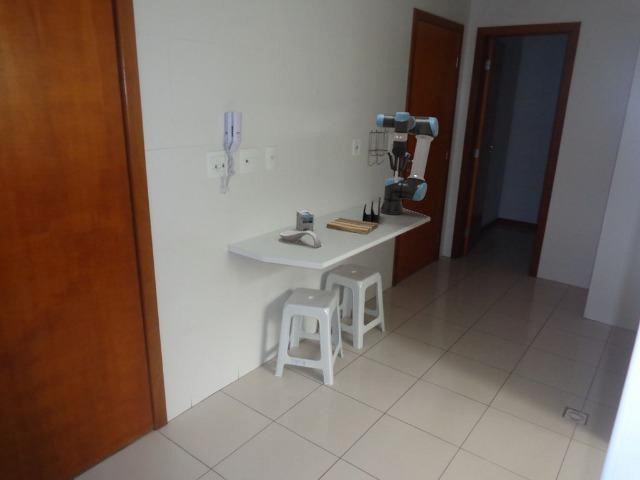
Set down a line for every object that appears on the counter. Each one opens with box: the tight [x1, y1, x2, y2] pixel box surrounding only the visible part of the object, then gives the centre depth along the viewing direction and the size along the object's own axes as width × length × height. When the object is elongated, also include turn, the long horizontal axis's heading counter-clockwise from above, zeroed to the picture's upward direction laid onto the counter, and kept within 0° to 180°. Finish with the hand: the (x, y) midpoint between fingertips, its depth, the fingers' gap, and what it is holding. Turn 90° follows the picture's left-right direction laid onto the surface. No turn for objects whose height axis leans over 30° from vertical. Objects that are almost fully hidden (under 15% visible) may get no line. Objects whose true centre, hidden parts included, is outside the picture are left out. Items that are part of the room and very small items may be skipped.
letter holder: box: [361, 196, 381, 225], centre depth 289 cm, size 10×20×14 cm, turn 171°
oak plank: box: [326, 220, 373, 235], centre depth 266 cm, size 10×24×2 cm, turn 64°
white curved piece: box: [279, 230, 322, 249], centre depth 236 cm, size 24×12×7 cm, turn 53°
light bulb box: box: [295, 209, 315, 232], centre depth 257 cm, size 11×7×11 cm, turn 22°
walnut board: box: [334, 217, 379, 231], centre depth 275 cm, size 9×24×2 cm, turn 64°
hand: (396, 182), depth 269 cm, fingers closed
